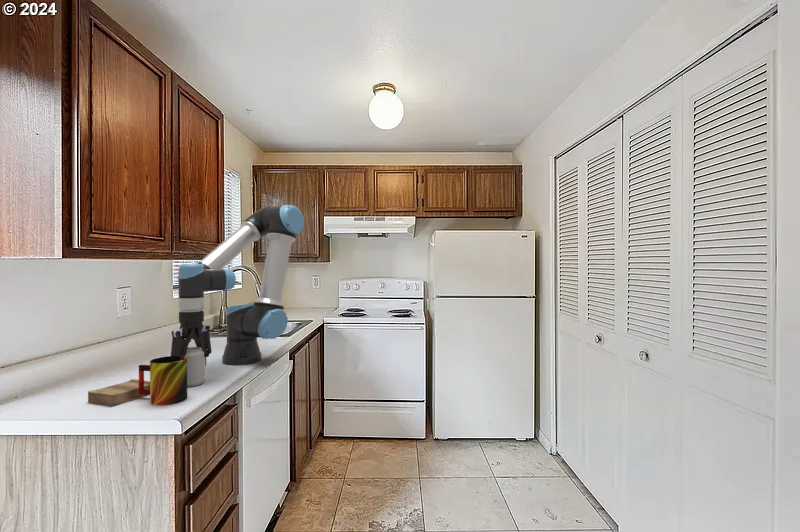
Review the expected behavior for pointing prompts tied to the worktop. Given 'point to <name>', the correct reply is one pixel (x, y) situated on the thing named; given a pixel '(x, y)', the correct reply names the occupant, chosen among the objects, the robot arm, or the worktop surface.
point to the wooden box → (117, 393)
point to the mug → (165, 380)
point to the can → (195, 366)
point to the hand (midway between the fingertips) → (191, 379)
